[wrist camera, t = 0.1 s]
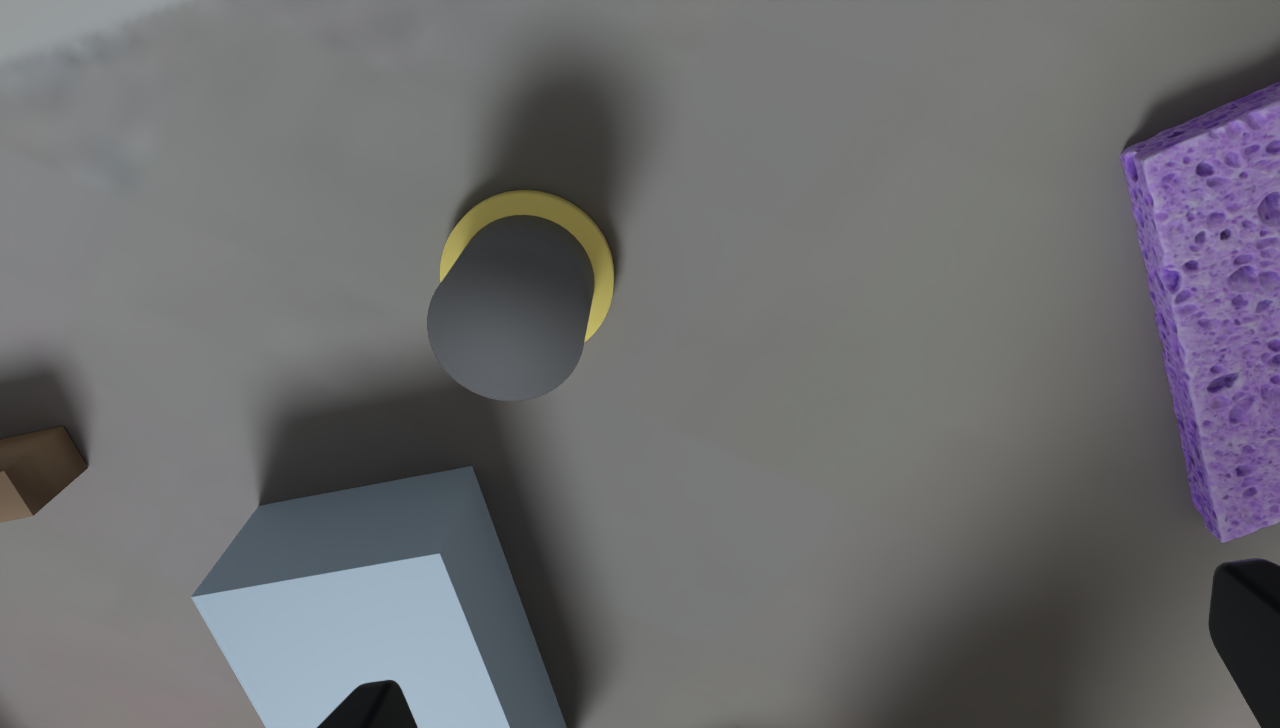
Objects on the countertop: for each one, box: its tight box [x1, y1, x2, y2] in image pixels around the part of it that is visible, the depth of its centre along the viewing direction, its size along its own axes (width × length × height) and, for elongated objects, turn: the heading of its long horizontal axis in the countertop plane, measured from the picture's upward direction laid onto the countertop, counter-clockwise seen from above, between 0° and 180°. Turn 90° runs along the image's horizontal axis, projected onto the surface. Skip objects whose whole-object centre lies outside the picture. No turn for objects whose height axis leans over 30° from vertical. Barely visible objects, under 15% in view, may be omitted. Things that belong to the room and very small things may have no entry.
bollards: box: [427, 190, 614, 401], centre depth 26 cm, size 28×5×4 cm, turn 13°
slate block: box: [191, 466, 567, 728], centre depth 27 cm, size 12×7×4 cm, turn 13°
